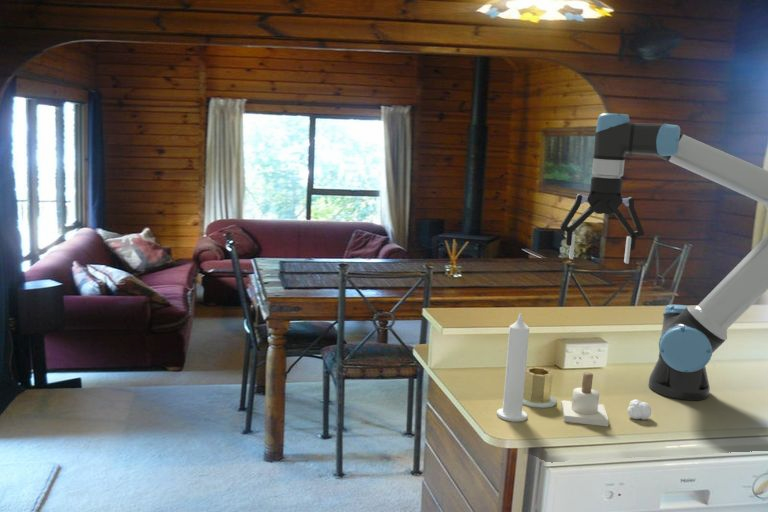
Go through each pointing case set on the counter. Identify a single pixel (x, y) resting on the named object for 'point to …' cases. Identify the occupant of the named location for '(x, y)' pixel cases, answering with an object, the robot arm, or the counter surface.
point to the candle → (515, 373)
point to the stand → (585, 405)
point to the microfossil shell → (639, 410)
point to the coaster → (541, 405)
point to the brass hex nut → (537, 385)
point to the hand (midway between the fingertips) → (598, 260)
